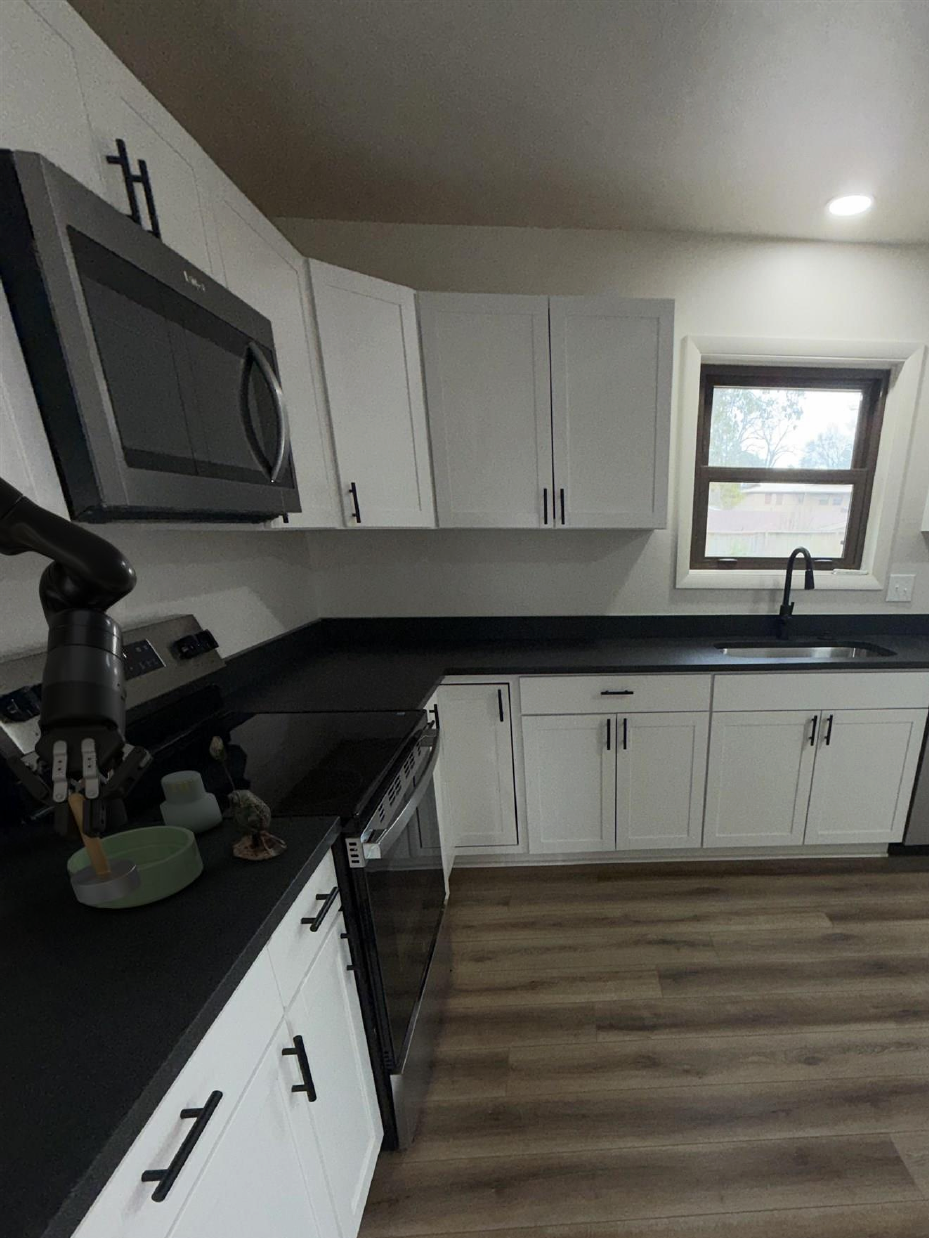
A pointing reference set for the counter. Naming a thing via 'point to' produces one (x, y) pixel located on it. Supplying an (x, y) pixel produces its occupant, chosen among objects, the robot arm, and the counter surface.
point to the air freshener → (188, 802)
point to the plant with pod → (249, 818)
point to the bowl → (149, 862)
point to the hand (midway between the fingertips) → (80, 836)
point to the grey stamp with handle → (100, 868)
